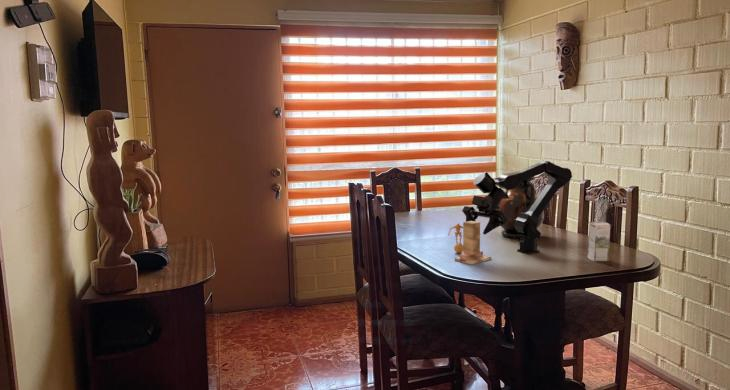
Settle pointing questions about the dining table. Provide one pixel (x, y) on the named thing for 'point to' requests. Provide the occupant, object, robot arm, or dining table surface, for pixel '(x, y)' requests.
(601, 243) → the syrup box
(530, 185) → the amphora vase
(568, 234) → the dining table surface
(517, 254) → the dining table surface
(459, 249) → the figurine
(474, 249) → the oak post
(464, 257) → the fulcrum
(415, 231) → the dining table surface
